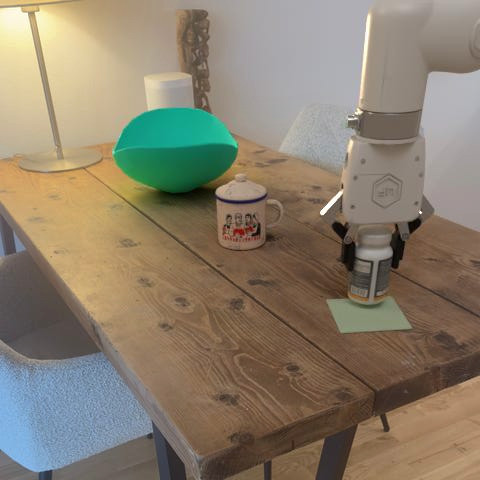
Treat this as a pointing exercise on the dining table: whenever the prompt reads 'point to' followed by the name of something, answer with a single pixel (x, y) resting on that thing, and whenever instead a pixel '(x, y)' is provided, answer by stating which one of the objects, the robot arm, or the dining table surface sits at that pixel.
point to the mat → (367, 316)
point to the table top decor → (175, 149)
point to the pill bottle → (371, 265)
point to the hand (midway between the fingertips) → (370, 265)
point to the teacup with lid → (243, 214)
